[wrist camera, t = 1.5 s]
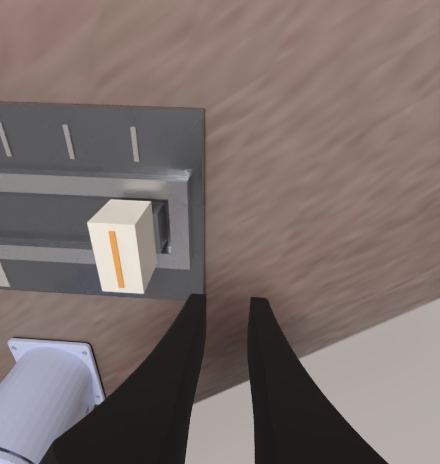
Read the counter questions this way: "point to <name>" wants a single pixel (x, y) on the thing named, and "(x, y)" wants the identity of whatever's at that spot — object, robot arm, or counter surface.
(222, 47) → the counter surface
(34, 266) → the console
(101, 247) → the fader tab
